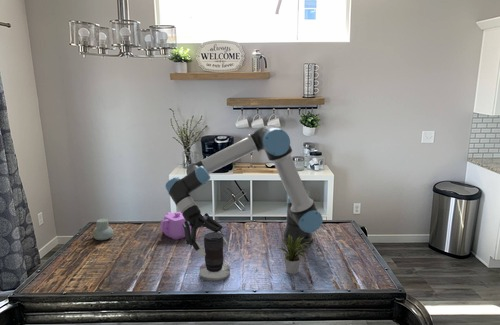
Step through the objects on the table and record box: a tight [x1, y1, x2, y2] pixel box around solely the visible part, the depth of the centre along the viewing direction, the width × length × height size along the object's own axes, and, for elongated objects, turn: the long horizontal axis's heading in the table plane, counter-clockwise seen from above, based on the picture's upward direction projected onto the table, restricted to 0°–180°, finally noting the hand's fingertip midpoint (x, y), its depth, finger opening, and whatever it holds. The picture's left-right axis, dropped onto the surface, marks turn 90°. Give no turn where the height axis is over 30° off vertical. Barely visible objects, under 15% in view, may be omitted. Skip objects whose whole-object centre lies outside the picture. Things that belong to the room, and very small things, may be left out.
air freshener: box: [92, 218, 115, 241], centre depth 199 cm, size 11×8×10 cm
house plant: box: [278, 235, 311, 275], centre depth 162 cm, size 14×14×16 cm
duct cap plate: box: [199, 261, 231, 283], centre depth 162 cm, size 13×13×3 cm
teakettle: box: [159, 211, 191, 241], centre depth 204 cm, size 17×17×12 cm
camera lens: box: [203, 231, 224, 272], centre depth 160 cm, size 8×8×15 cm
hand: (215, 250), depth 159 cm, fingers open, 13 cm apart
